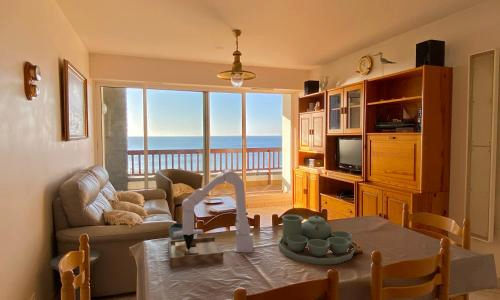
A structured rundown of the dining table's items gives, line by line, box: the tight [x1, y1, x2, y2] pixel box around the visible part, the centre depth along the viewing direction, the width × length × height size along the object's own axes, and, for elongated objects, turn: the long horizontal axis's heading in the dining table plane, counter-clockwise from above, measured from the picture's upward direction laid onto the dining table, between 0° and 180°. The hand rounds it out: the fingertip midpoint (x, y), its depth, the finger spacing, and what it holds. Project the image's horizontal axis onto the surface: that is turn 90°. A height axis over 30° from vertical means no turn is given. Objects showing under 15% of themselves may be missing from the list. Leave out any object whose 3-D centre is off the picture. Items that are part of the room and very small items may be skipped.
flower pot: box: [168, 222, 184, 240], centre depth 179 cm, size 9×9×9 cm
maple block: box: [175, 242, 186, 254], centre depth 157 cm, size 5×5×4 cm
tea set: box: [278, 214, 356, 266], centre depth 167 cm, size 40×40×16 cm
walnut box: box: [167, 235, 224, 268], centre depth 159 cm, size 25×24×4 cm
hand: (188, 248), depth 158 cm, fingers closed
